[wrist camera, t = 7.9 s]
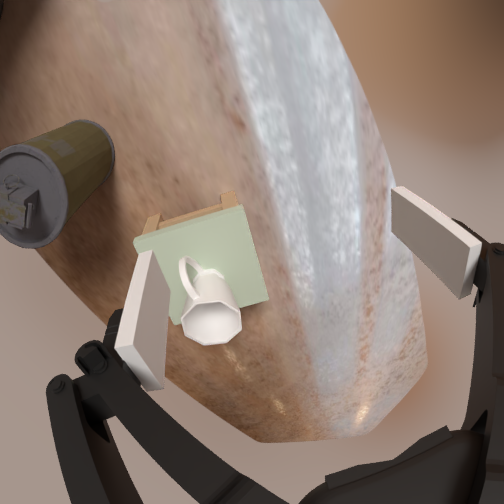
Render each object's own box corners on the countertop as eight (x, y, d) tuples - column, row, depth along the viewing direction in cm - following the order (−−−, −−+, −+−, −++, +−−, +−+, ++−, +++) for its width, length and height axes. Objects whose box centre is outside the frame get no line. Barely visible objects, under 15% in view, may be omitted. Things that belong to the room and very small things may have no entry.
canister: (124, 129, 37) (64, 167, 20) (105, 198, 42) (51, 276, 24) (56, 112, 34) (-32, 141, 17) (42, 180, 38) (-34, 244, 21)
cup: (199, 310, 43) (200, 353, 36) (159, 256, 38) (151, 296, 31) (245, 290, 42) (254, 331, 35) (208, 231, 37) (210, 267, 30)
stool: (143, 215, 44) (132, 243, 37) (236, 186, 44) (243, 208, 37) (177, 290, 51) (174, 325, 44) (259, 267, 51) (269, 299, 44)
